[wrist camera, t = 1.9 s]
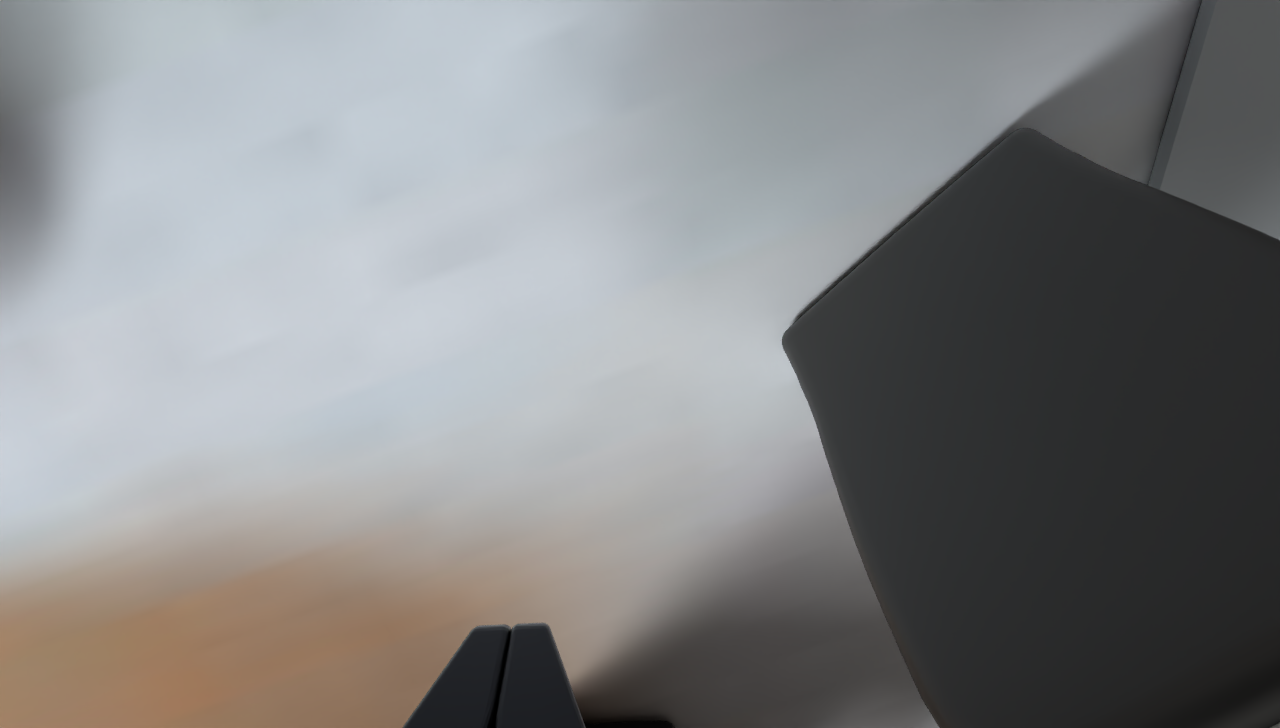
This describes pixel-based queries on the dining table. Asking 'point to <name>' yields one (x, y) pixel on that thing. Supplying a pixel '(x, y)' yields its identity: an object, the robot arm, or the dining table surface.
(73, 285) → the dining table surface
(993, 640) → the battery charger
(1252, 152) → the mat
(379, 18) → the dining table surface
